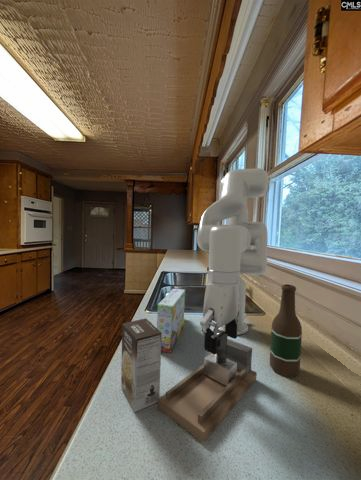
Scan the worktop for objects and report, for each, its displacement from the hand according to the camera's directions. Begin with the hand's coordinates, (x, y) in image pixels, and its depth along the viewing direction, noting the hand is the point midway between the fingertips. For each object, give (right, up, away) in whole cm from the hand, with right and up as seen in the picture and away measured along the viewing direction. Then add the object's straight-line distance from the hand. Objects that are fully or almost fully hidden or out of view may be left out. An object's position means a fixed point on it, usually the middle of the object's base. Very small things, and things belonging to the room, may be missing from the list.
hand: (221, 343), depth 58 cm
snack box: (-13, -9, +25) cm, 30 cm away
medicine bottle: (-14, -8, +40) cm, 43 cm away
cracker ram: (0, -8, 0) cm, 8 cm away
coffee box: (-20, -10, -4) cm, 23 cm away
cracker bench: (-3, -10, -3) cm, 11 cm away
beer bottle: (+19, -11, +7) cm, 23 cm away
